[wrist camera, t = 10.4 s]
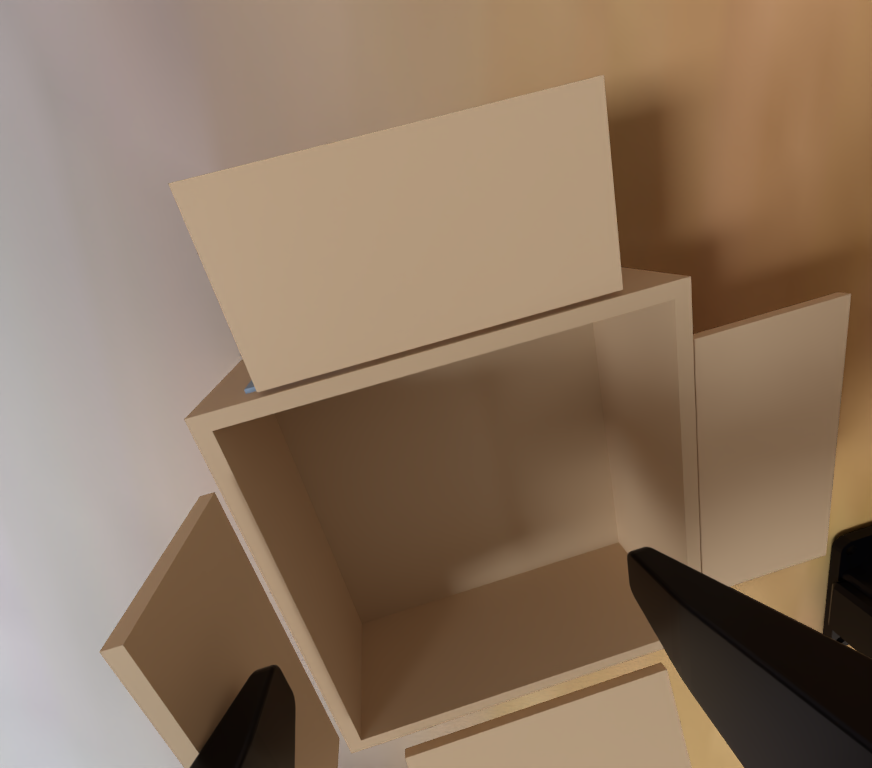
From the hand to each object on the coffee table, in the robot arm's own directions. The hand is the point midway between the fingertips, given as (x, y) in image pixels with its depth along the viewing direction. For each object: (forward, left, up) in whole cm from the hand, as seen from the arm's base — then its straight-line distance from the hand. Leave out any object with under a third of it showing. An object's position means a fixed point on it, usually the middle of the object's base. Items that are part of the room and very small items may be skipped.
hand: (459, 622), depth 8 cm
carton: (-3, -1, -7) cm, 8 cm away
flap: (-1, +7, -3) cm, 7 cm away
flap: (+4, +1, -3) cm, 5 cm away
